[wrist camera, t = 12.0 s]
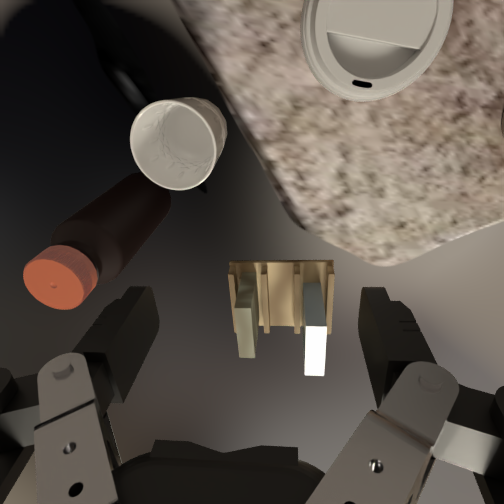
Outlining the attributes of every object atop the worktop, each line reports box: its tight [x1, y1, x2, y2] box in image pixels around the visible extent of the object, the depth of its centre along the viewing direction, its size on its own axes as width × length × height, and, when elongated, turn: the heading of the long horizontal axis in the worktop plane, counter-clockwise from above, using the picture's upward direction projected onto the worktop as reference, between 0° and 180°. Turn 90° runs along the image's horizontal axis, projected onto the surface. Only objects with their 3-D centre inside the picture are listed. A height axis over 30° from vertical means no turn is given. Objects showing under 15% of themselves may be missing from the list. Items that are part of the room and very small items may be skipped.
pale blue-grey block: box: [302, 283, 327, 376], centre depth 45 cm, size 2×8×9 cm, turn 4°
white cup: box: [130, 97, 227, 190], centre depth 35 cm, size 8×8×10 cm
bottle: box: [23, 172, 171, 310], centre depth 35 cm, size 7×7×20 cm
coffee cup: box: [300, 0, 454, 102], centre depth 27 cm, size 10×10×15 cm
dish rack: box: [228, 260, 335, 358], centre depth 46 cm, size 14×11×9 cm
